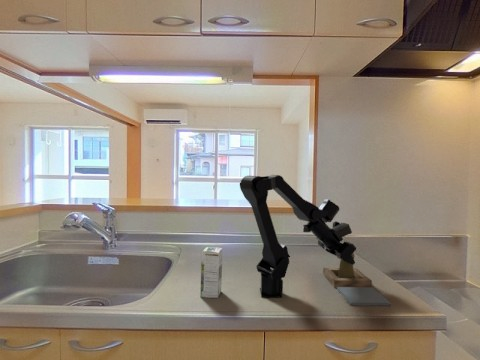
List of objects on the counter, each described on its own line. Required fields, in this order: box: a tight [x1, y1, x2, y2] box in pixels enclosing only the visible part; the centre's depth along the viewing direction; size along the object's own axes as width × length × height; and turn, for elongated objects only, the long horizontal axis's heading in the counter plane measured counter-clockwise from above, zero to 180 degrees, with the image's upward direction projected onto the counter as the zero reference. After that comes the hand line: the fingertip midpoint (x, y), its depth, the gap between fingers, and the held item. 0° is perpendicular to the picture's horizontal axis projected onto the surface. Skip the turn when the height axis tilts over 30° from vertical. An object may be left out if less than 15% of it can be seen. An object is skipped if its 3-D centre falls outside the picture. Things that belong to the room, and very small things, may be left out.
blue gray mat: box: [336, 286, 391, 307], centre depth 97 cm, size 12×12×1 cm
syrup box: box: [199, 246, 224, 299], centre depth 97 cm, size 6×6×14 cm
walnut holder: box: [322, 267, 373, 289], centre depth 111 cm, size 13×13×2 cm
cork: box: [338, 252, 355, 278], centre depth 111 cm, size 6×6×11 cm
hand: (350, 261), depth 111 cm, fingers closed on cork, 5 cm apart
